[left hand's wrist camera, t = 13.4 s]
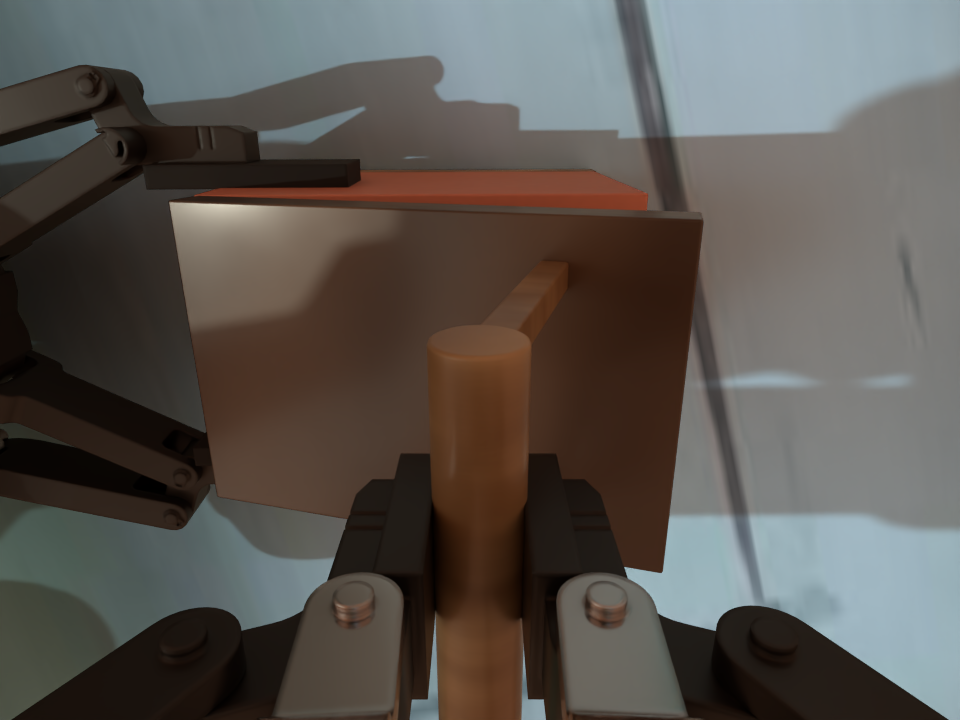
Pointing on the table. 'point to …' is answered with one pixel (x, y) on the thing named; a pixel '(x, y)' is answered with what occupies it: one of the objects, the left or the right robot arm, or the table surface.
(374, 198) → the chest
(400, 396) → the lid
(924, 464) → the table surface
